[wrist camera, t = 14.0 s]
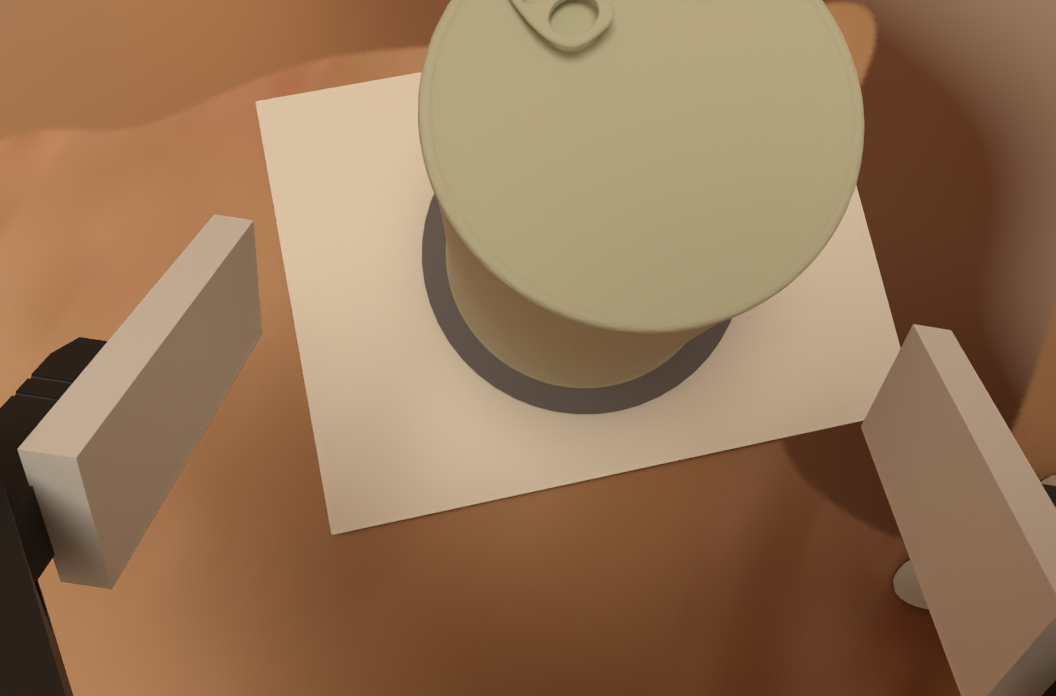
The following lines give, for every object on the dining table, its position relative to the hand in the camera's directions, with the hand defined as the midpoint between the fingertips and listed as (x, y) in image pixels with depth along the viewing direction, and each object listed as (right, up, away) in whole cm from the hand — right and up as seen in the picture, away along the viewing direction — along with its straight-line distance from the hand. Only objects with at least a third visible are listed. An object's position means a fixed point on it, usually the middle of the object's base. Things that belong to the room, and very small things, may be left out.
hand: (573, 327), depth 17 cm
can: (+1, +3, +11) cm, 12 cm away
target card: (+1, +3, +12) cm, 12 cm away
